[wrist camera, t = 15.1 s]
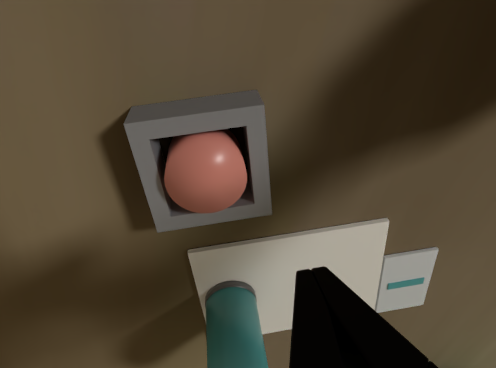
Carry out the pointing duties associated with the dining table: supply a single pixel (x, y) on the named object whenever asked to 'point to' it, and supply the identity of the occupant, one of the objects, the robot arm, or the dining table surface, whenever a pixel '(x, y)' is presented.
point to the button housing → (195, 121)
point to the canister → (233, 327)
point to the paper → (294, 265)
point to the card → (405, 279)
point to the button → (205, 171)
